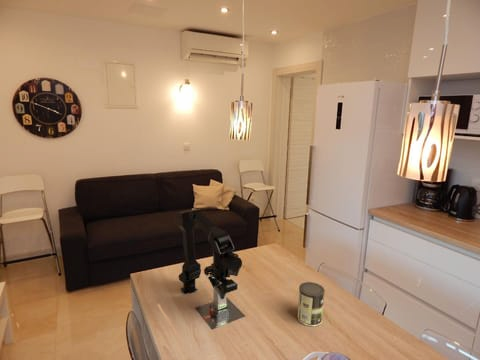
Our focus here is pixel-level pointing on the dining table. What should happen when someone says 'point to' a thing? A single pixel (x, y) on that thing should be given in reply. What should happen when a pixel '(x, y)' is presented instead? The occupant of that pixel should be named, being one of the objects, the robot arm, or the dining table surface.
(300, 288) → the coffee can
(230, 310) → the stand base
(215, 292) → the post
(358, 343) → the dining table surface
